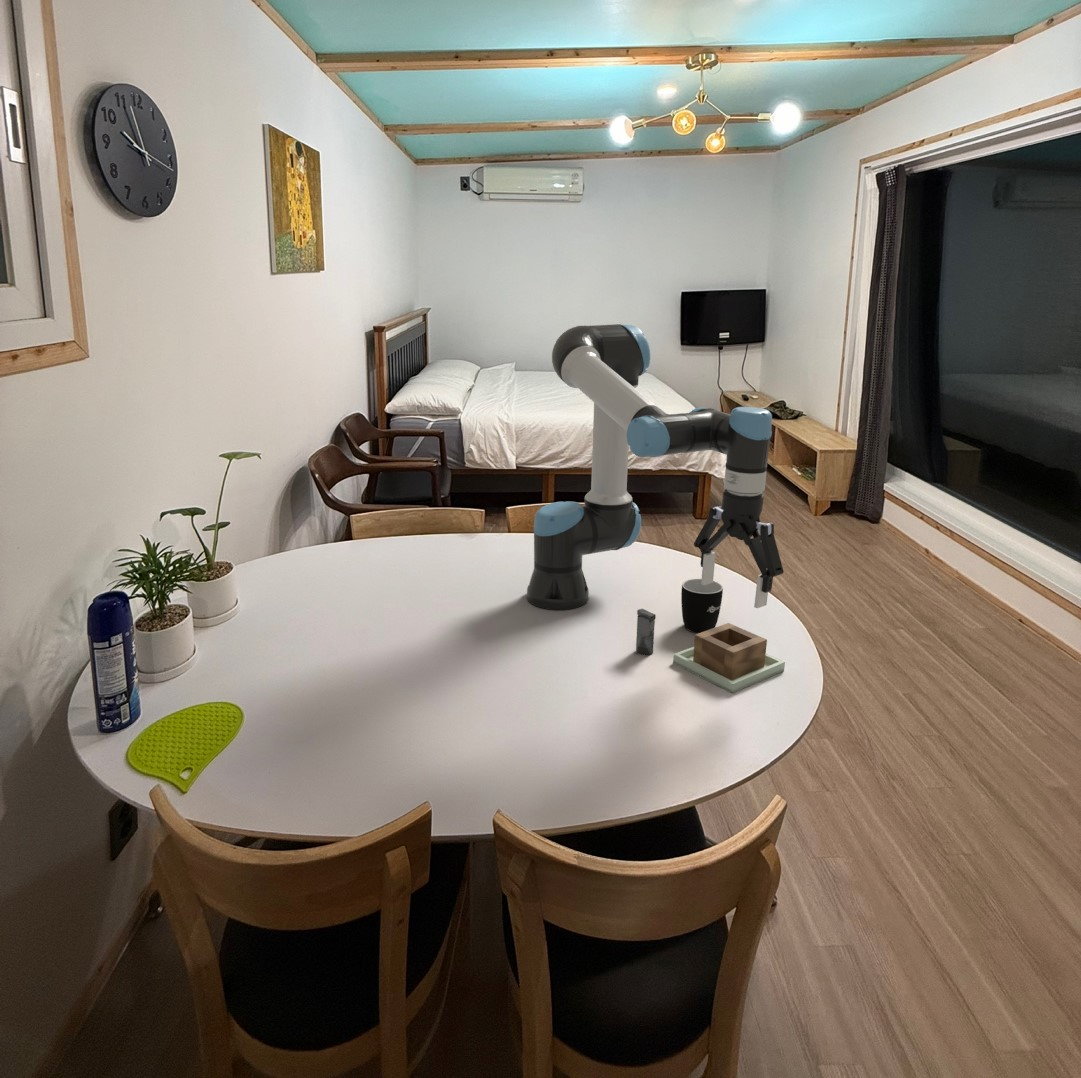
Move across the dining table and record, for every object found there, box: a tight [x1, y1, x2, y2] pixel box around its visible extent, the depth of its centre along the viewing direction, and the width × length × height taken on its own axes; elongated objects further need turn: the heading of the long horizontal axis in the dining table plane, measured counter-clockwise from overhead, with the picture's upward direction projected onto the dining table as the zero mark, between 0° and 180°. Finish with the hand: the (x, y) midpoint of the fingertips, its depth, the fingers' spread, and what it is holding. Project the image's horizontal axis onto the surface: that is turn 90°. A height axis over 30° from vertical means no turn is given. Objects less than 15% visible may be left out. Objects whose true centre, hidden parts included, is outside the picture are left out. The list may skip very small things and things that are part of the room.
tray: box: [672, 646, 786, 694], centre depth 162 cm, size 16×16×2 cm
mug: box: [680, 578, 724, 634], centre depth 180 cm, size 12×9×10 cm
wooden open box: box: [693, 622, 768, 680], centre depth 162 cm, size 10×10×6 cm
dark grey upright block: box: [635, 608, 657, 656], centre depth 168 cm, size 4×4×9 cm
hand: (732, 594), depth 158 cm, fingers open, 13 cm apart
